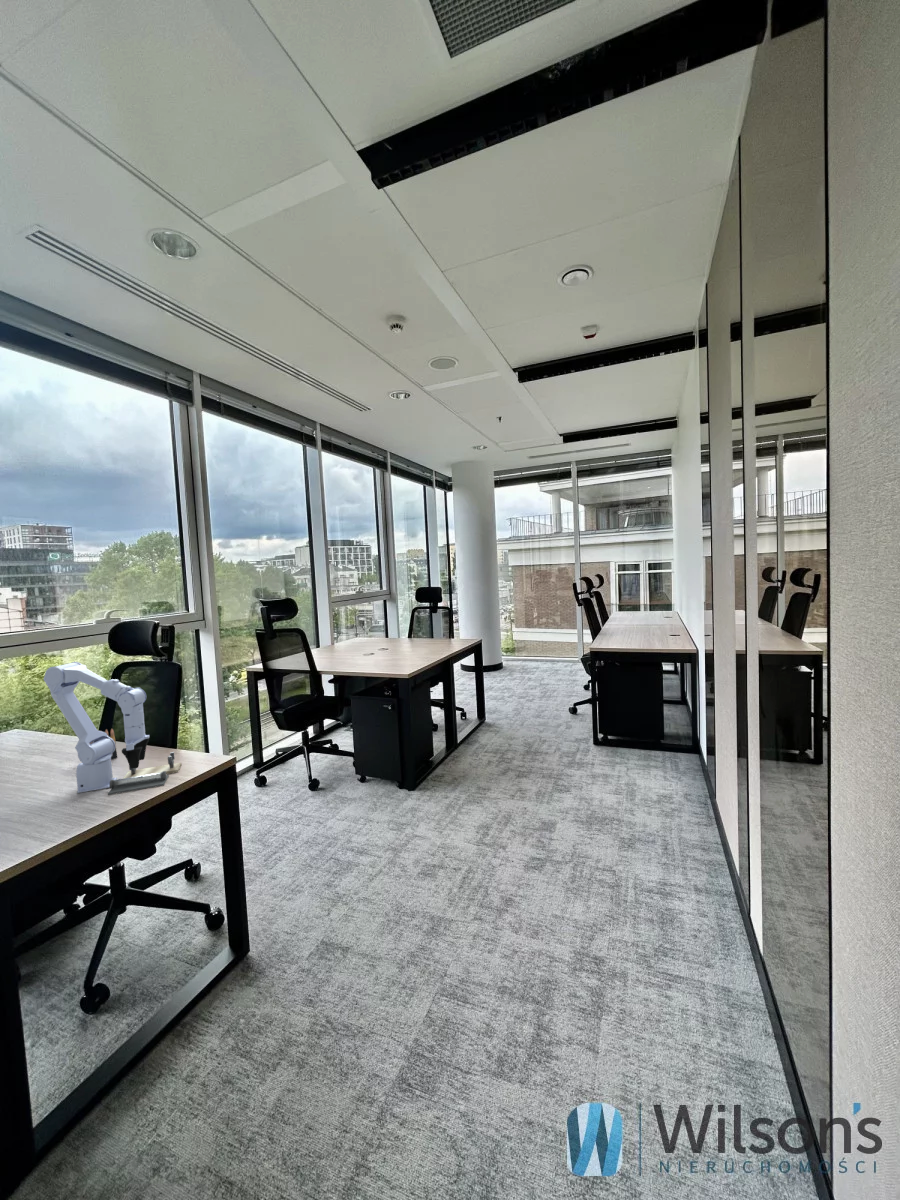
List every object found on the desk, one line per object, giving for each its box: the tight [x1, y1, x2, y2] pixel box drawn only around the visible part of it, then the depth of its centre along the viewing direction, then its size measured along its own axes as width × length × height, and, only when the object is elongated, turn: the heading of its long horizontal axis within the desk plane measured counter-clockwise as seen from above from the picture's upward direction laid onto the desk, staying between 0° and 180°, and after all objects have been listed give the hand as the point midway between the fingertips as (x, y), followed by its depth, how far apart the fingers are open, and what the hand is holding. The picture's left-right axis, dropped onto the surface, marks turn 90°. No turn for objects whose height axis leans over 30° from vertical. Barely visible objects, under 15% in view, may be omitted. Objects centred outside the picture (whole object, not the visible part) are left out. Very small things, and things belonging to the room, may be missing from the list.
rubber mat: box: [107, 774, 169, 796], centre depth 161 cm, size 16×8×1 cm, turn 110°
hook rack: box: [123, 751, 182, 778], centre depth 171 cm, size 17×7×6 cm, turn 110°
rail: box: [109, 771, 167, 790], centre depth 161 cm, size 16×3×3 cm, turn 110°
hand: (137, 763), depth 161 cm, fingers open, 7 cm apart
